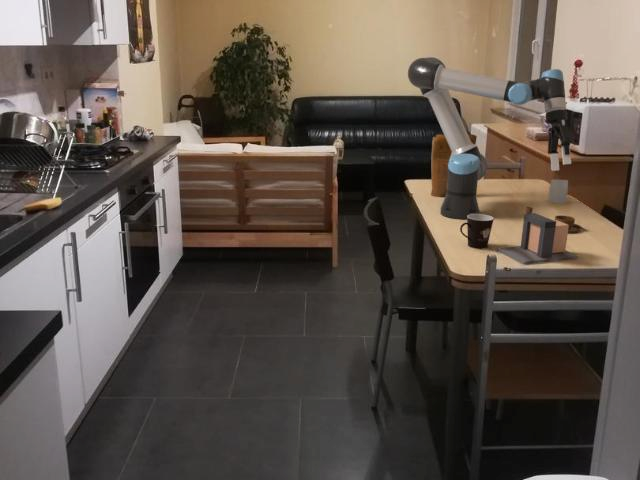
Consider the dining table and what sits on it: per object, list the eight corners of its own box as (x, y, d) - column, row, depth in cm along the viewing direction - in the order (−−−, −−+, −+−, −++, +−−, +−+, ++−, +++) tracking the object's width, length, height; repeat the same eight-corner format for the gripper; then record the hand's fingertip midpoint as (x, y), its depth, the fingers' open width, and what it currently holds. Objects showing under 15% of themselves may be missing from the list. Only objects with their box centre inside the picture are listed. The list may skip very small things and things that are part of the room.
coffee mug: (486, 242, 217) (489, 214, 214) (493, 250, 209) (497, 220, 206) (452, 241, 216) (455, 213, 213) (459, 249, 208) (461, 220, 205)
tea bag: (565, 203, 273) (568, 181, 270) (549, 202, 274) (552, 180, 271) (564, 201, 276) (567, 179, 273) (548, 200, 277) (551, 178, 274)
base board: (523, 264, 195) (524, 261, 195) (497, 250, 208) (498, 248, 207) (578, 258, 201) (578, 255, 201) (549, 245, 214) (549, 243, 214)
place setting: (551, 236, 227) (553, 220, 225) (521, 221, 245) (522, 206, 244) (593, 233, 231) (595, 218, 229) (560, 219, 250) (562, 204, 248)
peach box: (539, 254, 201) (542, 227, 198) (527, 248, 206) (530, 222, 204) (565, 251, 204) (568, 225, 201) (552, 246, 209) (556, 220, 207)
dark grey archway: (540, 257, 199) (545, 222, 195) (520, 247, 208) (524, 213, 205) (551, 256, 200) (556, 221, 196) (530, 246, 209) (534, 212, 206)
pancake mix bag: (472, 199, 278) (478, 135, 269) (428, 197, 279) (433, 133, 271) (470, 195, 284) (475, 133, 276) (427, 194, 286) (431, 131, 277)
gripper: (577, 101, 224) (583, 160, 222) (555, 119, 249) (560, 172, 247) (556, 103, 224) (561, 162, 223) (536, 120, 249) (541, 173, 248)
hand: (561, 167), depth 235 cm, fingers open, 13 cm apart
